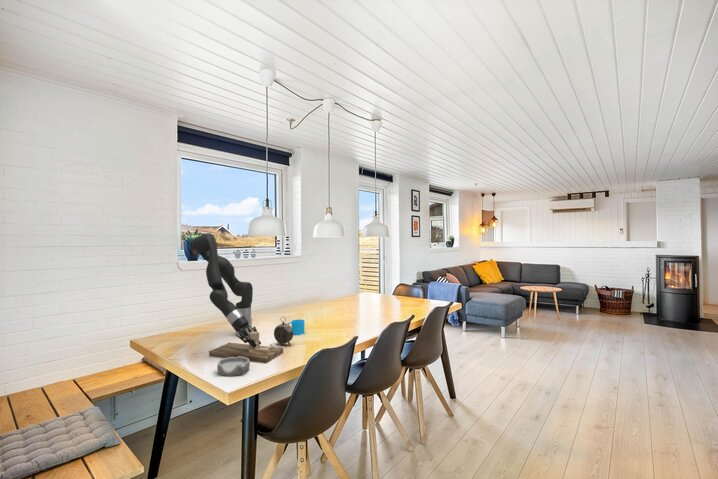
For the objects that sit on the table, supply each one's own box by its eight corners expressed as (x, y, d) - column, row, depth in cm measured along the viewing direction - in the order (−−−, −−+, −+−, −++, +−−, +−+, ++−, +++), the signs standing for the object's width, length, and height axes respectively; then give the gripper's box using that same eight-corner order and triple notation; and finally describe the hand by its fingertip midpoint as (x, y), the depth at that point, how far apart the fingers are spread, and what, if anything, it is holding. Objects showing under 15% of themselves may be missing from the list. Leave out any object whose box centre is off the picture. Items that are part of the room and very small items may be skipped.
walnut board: (229, 346, 195) (229, 342, 195) (283, 352, 184) (283, 348, 184) (208, 356, 179) (208, 351, 179) (266, 363, 169) (266, 358, 169)
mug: (305, 332, 226) (305, 319, 226) (302, 335, 218) (302, 322, 218) (287, 331, 227) (287, 319, 227) (284, 335, 219) (284, 322, 219)
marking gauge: (260, 346, 187) (260, 328, 187) (276, 348, 184) (276, 329, 184) (248, 352, 177) (248, 333, 177) (266, 354, 174) (266, 334, 174)
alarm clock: (293, 345, 198) (293, 316, 198) (288, 347, 193) (287, 318, 193) (278, 342, 203) (278, 314, 203) (272, 345, 198) (272, 316, 198)
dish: (249, 375, 154) (249, 364, 154) (215, 379, 151) (215, 367, 151) (249, 364, 168) (249, 353, 168) (219, 367, 164) (219, 356, 164)
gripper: (233, 318, 174) (254, 345, 170) (249, 312, 187) (269, 337, 183) (224, 328, 175) (244, 354, 172) (241, 321, 189) (261, 346, 185)
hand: (257, 345), depth 178 cm, fingers closed on marking gauge, 3 cm apart
